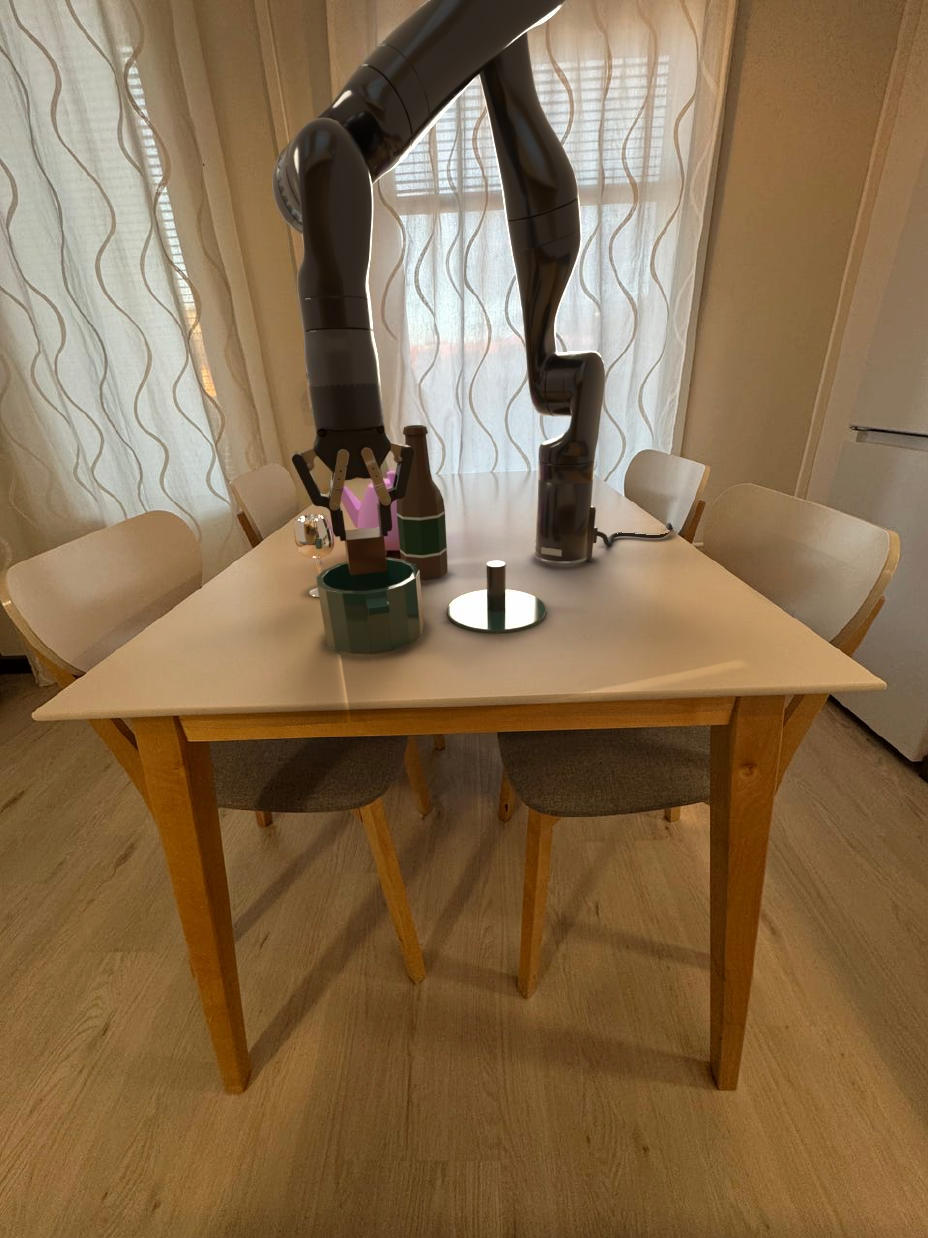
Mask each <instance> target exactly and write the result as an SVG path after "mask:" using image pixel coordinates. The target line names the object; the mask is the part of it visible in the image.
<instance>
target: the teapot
mask: <svg viewBox="0 0 928 1238" xmlns="http://www.w3.org/2000/svg"><path fill="white" fill-rule="evenodd" d="M395 472H396V469H395V470H388V471H387V472H386V476H387V478H383V480H384V483H385V486H386V488H387V490H388V489H390V488H392V487H393V482H394V477H395ZM341 503H342V505H343V507H344V509H345V511H346V512H347V514H348V516H349V519H350V520H351V522H352V524H353V526H354V527H355V529H366V528H377V527H379V520H378V511H377V503H378V497H377V494H376V492H375V489H374V487H373V485H372V483H371V482H370V483H368V485H367V487H366V489H365V492H364V495H363V497H362V500H361V501H360V500H359V499H358V498H357V496H355V494H354V493H353V492H352V491H351V490H350V489H349V487H348V486H344V488H343V492H342V498H341ZM391 517H392V530H391V531H388V536H384V541H385V553H386V556H387V555H388V551H400V543H399V532H398V521H397V500H395V501H393V502H392V503H391Z"/></svg>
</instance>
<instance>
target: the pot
mask: <svg viewBox="0 0 928 1238" xmlns="http://www.w3.org/2000/svg"><path fill="white" fill-rule="evenodd" d="M386 565H387V571H386V572H376V573H367V574H358V575H350V572H349V568H348V564H347V561H343V562H339V563H336V564H333V565H332V566H329V567H327V568H325V569H322V572H321V573H320V574H319V573H318V575H317V576H316V578H315V579H316V588H318V594H319V597H318V599H319V605H320V610H321V617H322V622H323V628H324V633H325V639H326V644H327V645H328V648H330V649H331V650H332V651H334V653H337V654H340V655H341V652H344V653H349V654H352V655H374V654H381V653H386V652H393V651H395V650H398V649H401V648H403V647H406V646H408V645H410V644H411V643H412V642H414V641H416V640H417V639H418V638H419V637H421V635H422V634H423V633H422V632H423V630H424V628H425V624H424V612H423V599H422V597H423V596H422V585H421V580H420V571H419V569H418V568H417V566H416V565H415V564H413V563H410V562H408V561H406V560H401V558H394V557H386Z"/></svg>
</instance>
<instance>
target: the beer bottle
mask: <svg viewBox="0 0 928 1238" xmlns="http://www.w3.org/2000/svg"><path fill="white" fill-rule="evenodd" d="M428 434H429V431H428V427H427V425H426V426H425V425H423V424H412V425H406V426H404V427H403V430H402V435H404V445H408V446H410V447H411V448H413V450H414V456H413V461H412V465H411V470H410V475H409V480H408V484H407V489H406V494H405V497H404V498H402V499H397V521H398V532H399V543H400V550H399V552H400V553H399V555H400V559H401V560H406V561H408V562H410V563H413V564H415V565H416V566H417V568H418V569H419V571H420V581H421V582H423V581H424V582H425V581H430V580H436V579H441V578H442V577H443V576H445V574H447V573H448V548H447V547H448V546H447V544H448V543H447V525H446V523H447V522H446V508H445V500H444V497H443V495H442V492H441V490H440V489H439V487H438V486H437V484H436V483H435V481H434V480H433V475H432V471H431V465H430V457H429V449H428V439H427V435H428Z"/></svg>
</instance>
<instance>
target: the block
mask: <svg viewBox="0 0 928 1238" xmlns="http://www.w3.org/2000/svg"><path fill="white" fill-rule="evenodd" d="M345 532H346V541H344V547H345V554H346V555H345V556H346V562H347V564H348V568H349V572H350V575H358V574H367V573H376V572H386V571H387V565H386V558H387V555H386V553H385V541H384V536H383V534H382V533H381V531H380V529H379V527H377V528H366V529H358V528H355V529H345Z"/></svg>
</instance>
